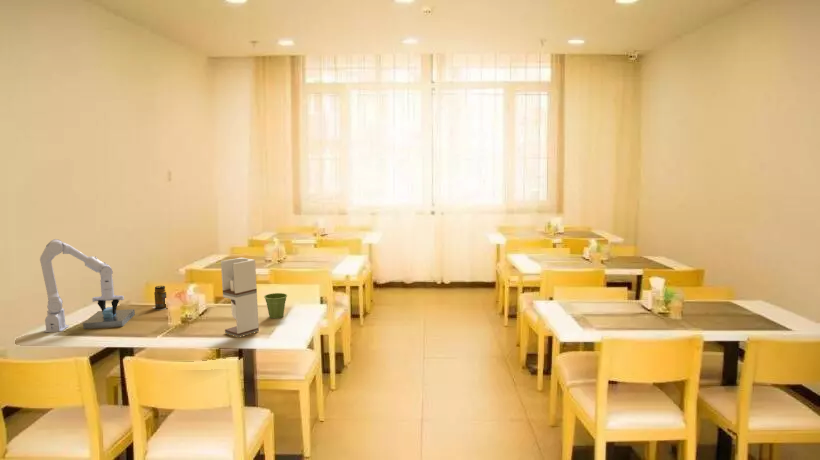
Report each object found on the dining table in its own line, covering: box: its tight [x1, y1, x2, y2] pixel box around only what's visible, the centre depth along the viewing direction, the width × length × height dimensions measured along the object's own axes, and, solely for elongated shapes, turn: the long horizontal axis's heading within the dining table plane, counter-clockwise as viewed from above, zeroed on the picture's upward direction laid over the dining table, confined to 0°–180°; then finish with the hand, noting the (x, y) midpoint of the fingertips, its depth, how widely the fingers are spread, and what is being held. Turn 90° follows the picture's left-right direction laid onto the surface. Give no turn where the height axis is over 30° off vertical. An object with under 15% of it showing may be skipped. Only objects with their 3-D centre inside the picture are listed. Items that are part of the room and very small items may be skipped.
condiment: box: [152, 285, 167, 311], centre depth 331 cm, size 7×8×12 cm
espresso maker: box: [220, 257, 260, 338], centre depth 283 cm, size 11×11×35 cm
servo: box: [102, 306, 116, 318], centre depth 307 cm, size 11×4×4 cm, turn 10°
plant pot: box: [263, 292, 288, 319], centre depth 311 cm, size 12×12×11 cm
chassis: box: [82, 308, 136, 330], centre depth 307 cm, size 22×18×3 cm
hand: (109, 314), depth 307 cm, fingers closed on servo, 4 cm apart
